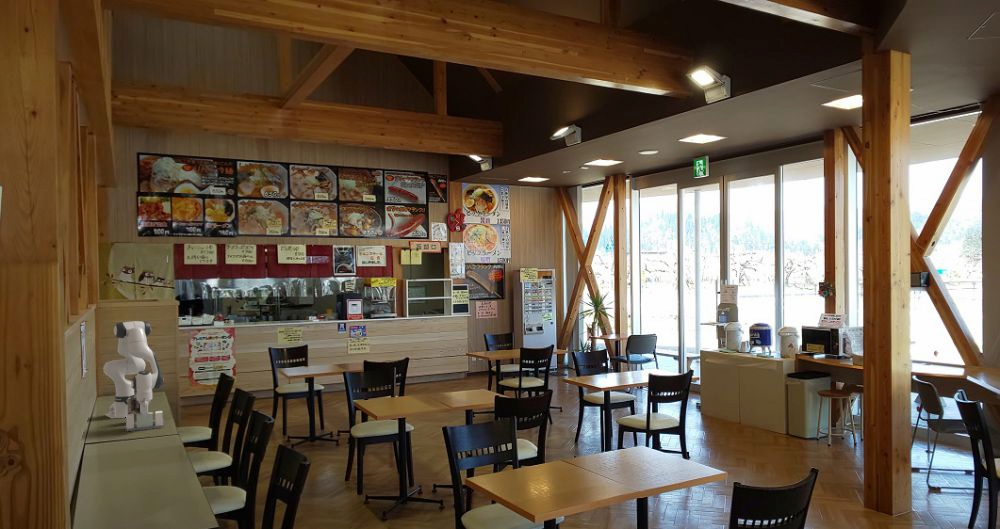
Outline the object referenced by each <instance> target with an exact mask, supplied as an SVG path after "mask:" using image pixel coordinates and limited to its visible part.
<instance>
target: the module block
mask: <svg viewBox="0 0 1000 529" xmlns="http://www.w3.org/2000/svg"><path fill="white" fill-rule="evenodd" d="M153 414H154V412H153V411H148V414H147V416H146V421H143V415H142V414H141V413H138V414H137V428H140V427H149V426H153V421H154V419H153V418H154V417H153Z"/></svg>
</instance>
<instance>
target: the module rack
mask: <svg viewBox="0 0 1000 529" xmlns="http://www.w3.org/2000/svg"><path fill="white" fill-rule="evenodd" d="M163 413H164V412H163V410H157V411H155V413H154V414H155V417H154V418H155V419H153V426H149V427H140V428H137V422H135V423H134V414H127V416H126V418H125V419H126V423H125V432H126V431H127V432H126V433H129V432H128V431H131V432H136V431H135V430H140V431H146V430H145V429H149V430H153V429H152V428H158V429H162V428H161V427H164V426H165V425H164V418H163V417H164V414H163Z"/></svg>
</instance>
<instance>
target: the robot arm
mask: <svg viewBox="0 0 1000 529" xmlns="http://www.w3.org/2000/svg"><path fill="white" fill-rule="evenodd" d="M151 332H152V326H151V324H150V322H149V321H145V320H143V321H139V320H134V321H133V320H132V321H125V322H122V321H121V322H117V323H116V324H115V325H114V328H113V334H114V336H115V337H116V338H117V339H118V344H117V353H118V354H119V355H120V356H122V357H125V358H122V359H113V360H109V361H106V362H105V363H104V364H103V370H102V371H103V373H104V375H105V376H107V377H109V378H110V379H111V380H112V381H113V383H114V386H115V396H114V399H113V400H114V401H113V403H112V404H111V405H110V406H109V408H108V412H107V413H105V414H104V415H105V416H106V417H108V418H109V419H124V418H125V417H126V416H127V414H128V403H127V399H130V398H133V397H137V401H139V403H141V414H142V415H143V421H146V416H147V414H148V412H149V404H150V403H151V400H153V390H159V389H160V388H162V387H163V386H164V384H165V379H164V376H163V373H162V371H161V369H160V365H159V362H158V359H157V356H156V353H155V351H154V350H153V349H151V348H150V347H149V345H148V341H147V340H148V339H147V337H148V336H149V335H150V334H151ZM146 361H147V362H148V363H149V364H150V368H151V371H149V370H145V369H146V365H147V364H146ZM129 375H134V376H133V377H132V378H131V379H127V378H125V377H126V376H129ZM135 391H136V393H135ZM125 419H126V418H125Z"/></svg>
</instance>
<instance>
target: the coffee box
mask: <svg viewBox="0 0 1000 529" xmlns="http://www.w3.org/2000/svg"><path fill="white" fill-rule="evenodd" d="M127 403H128V414H134V423H135V422H137V414H138V413H141V403H139V401H137V396H135V397H133V398H130V399H127Z"/></svg>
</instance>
